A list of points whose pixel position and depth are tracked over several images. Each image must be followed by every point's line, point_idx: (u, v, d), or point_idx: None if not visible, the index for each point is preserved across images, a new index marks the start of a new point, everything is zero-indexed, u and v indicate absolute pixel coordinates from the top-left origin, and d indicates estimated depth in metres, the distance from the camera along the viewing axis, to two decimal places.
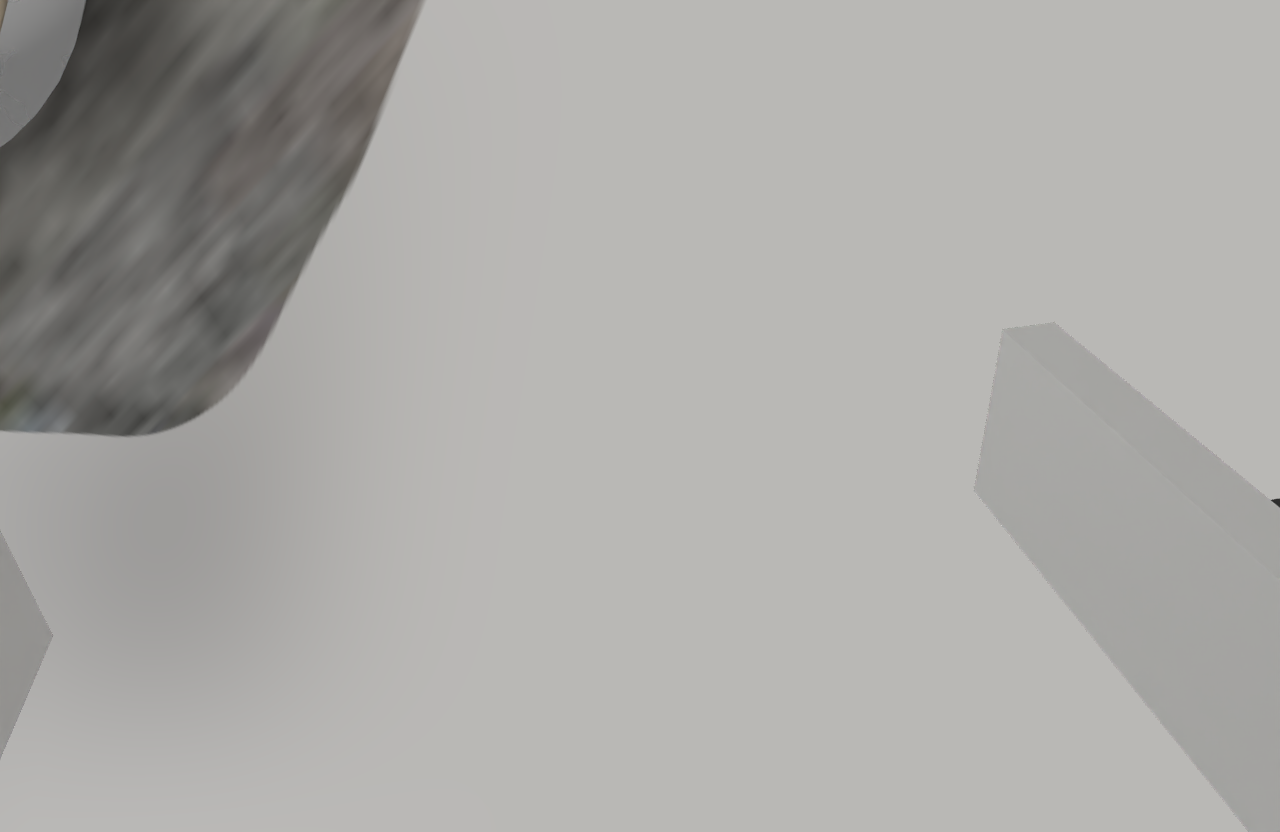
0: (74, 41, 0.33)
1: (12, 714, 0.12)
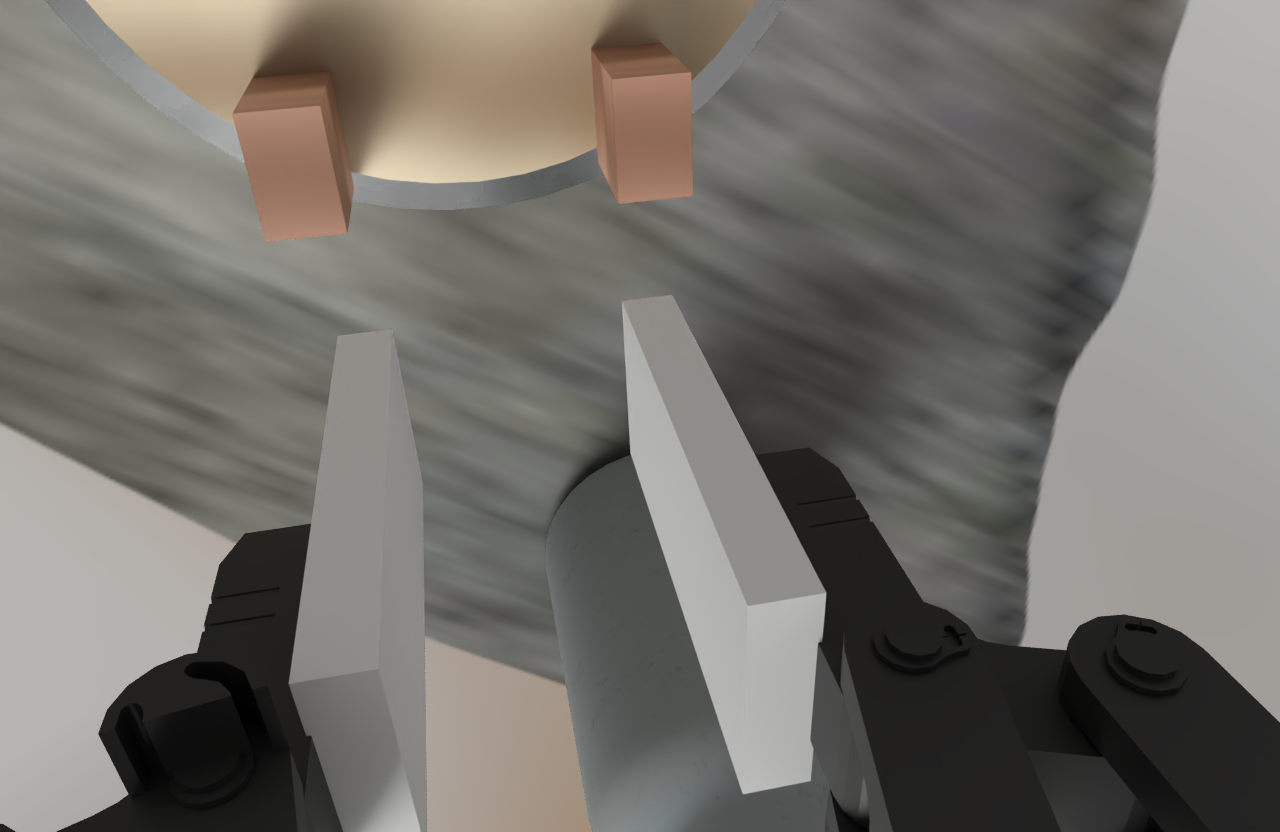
0: None
1: (421, 534, 0.14)
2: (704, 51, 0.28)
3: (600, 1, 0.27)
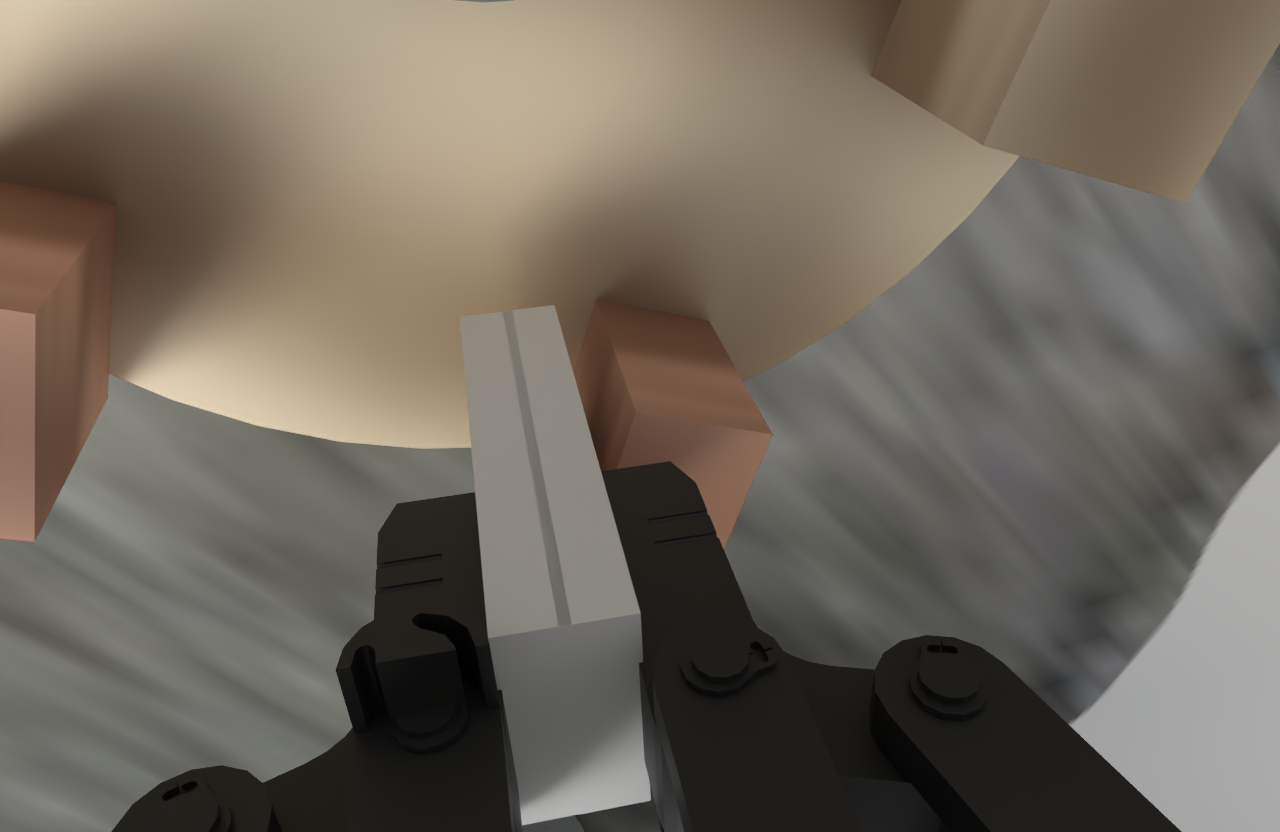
0: None
1: None
2: (768, 350, 0.17)
3: (637, 234, 0.15)
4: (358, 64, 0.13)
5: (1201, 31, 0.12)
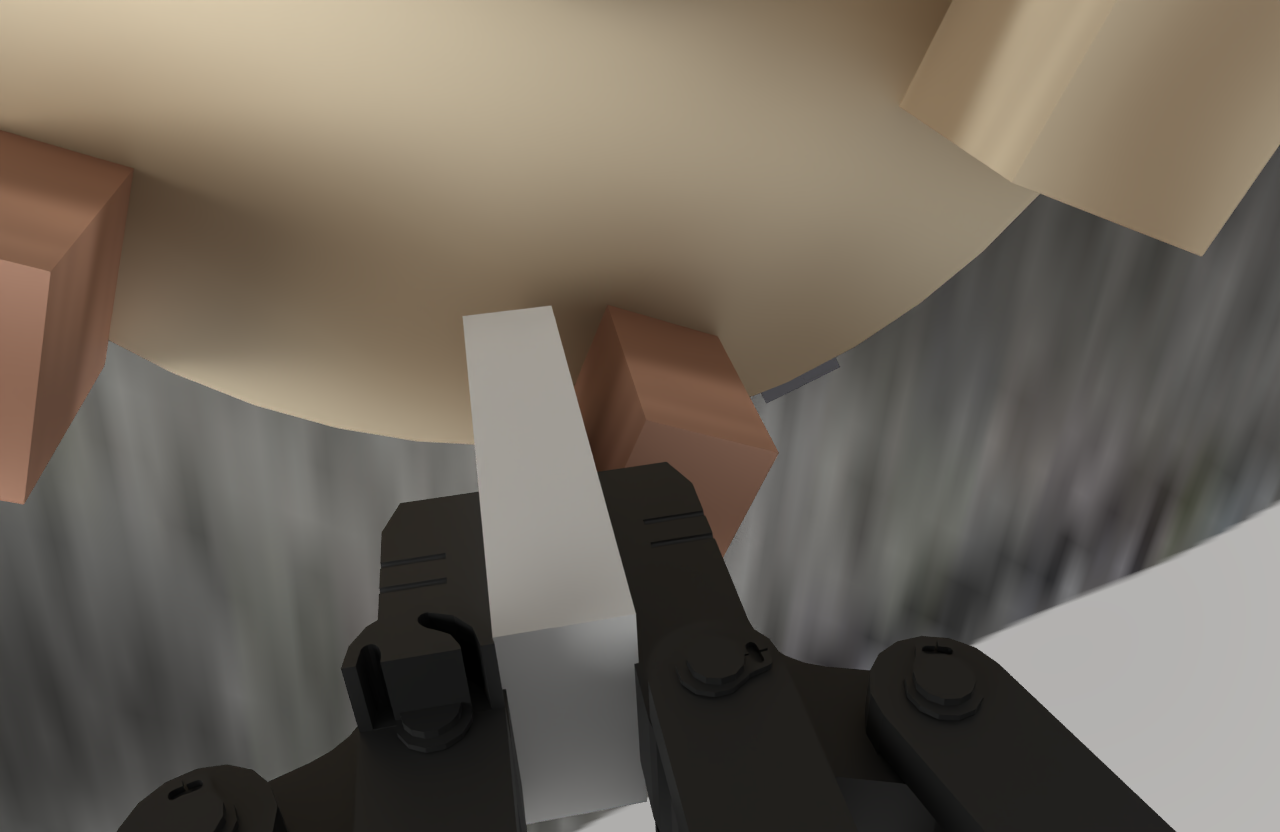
0: None
1: None
2: (773, 370, 0.17)
3: (654, 244, 0.15)
4: (394, 49, 0.13)
5: (1232, 89, 0.12)
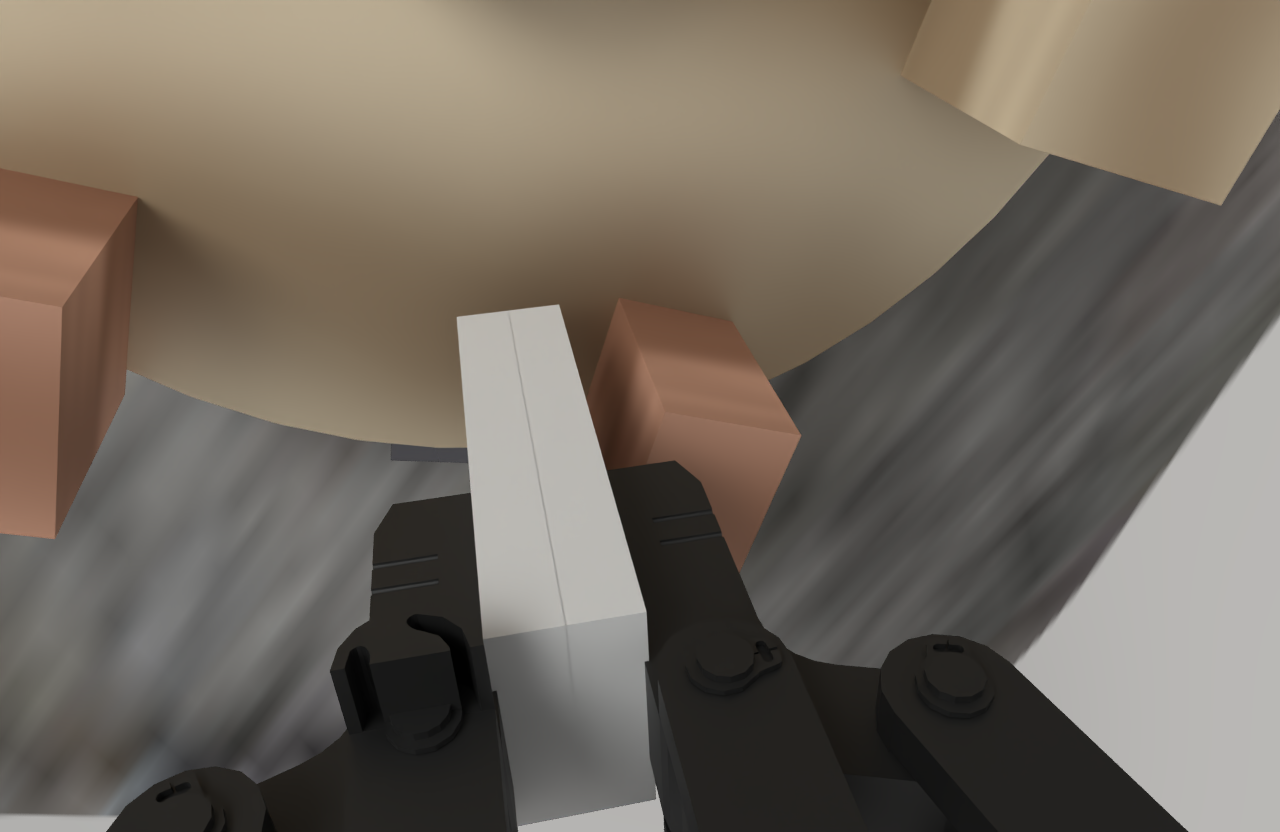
0: None
1: None
2: (790, 352, 0.17)
3: (662, 233, 0.15)
4: (385, 57, 0.13)
5: (1242, 32, 0.12)
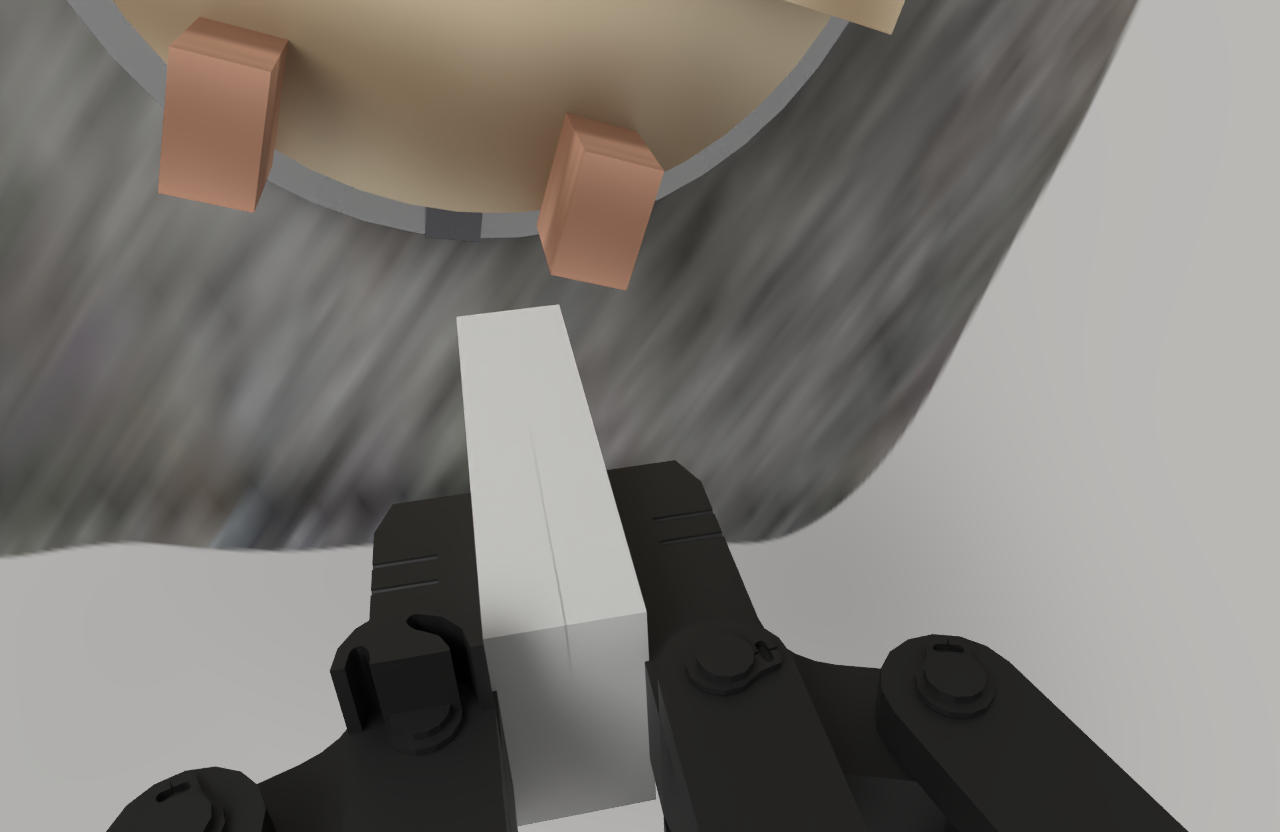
0: None
1: None
2: (674, 153, 0.27)
3: (590, 70, 0.26)
4: None
5: None
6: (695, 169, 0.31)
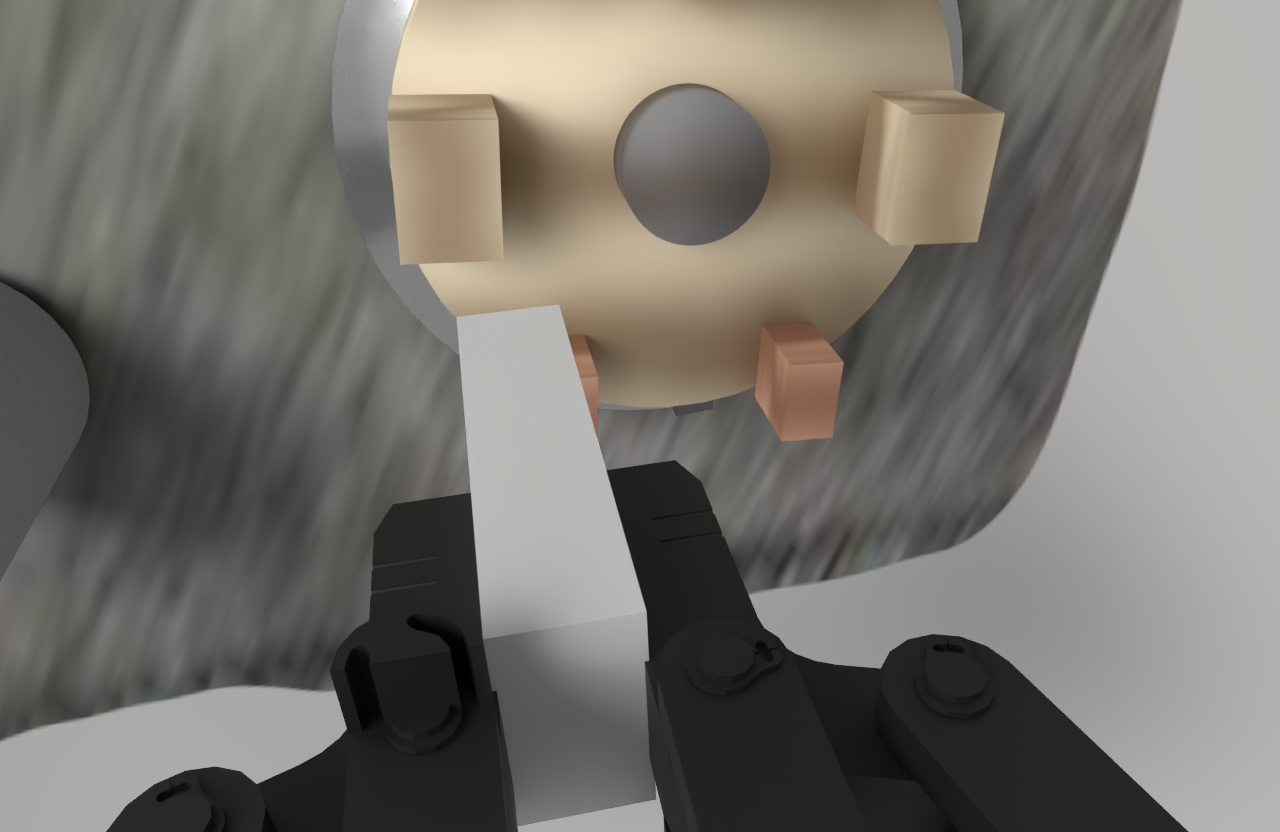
0: None
1: None
2: (839, 328, 0.39)
3: (773, 295, 0.38)
4: (661, 263, 0.36)
5: (958, 189, 0.33)
6: None
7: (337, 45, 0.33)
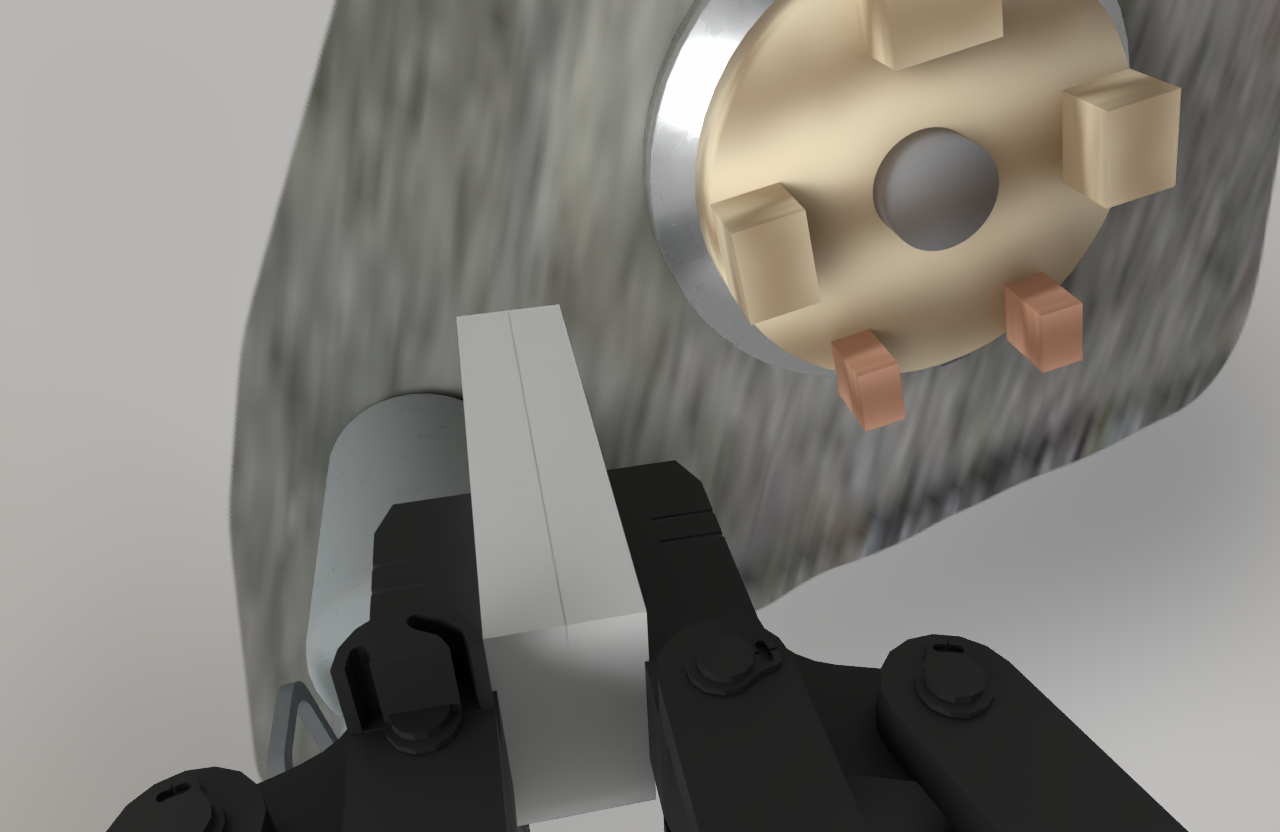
0: None
1: None
2: (1065, 270, 0.49)
3: (1009, 261, 0.48)
4: (919, 262, 0.47)
5: (1153, 153, 0.42)
6: None
7: (652, 172, 0.45)
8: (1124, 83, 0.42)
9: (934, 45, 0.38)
